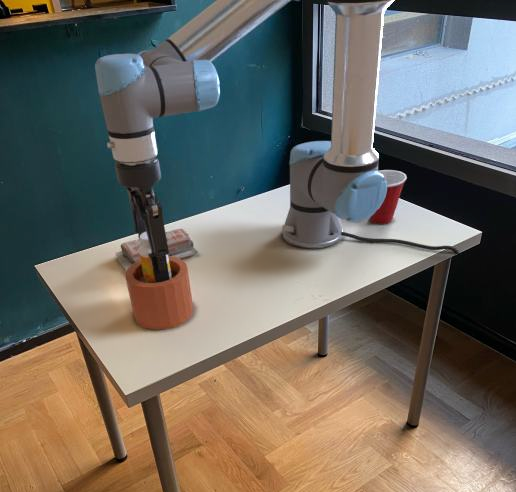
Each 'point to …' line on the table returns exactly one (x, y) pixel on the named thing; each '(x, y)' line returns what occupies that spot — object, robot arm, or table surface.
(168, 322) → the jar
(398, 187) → the plastic cup
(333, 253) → the table surface
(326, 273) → the table surface
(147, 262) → the supplement bottle
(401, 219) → the table surface
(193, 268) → the table surface
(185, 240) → the packaged product
